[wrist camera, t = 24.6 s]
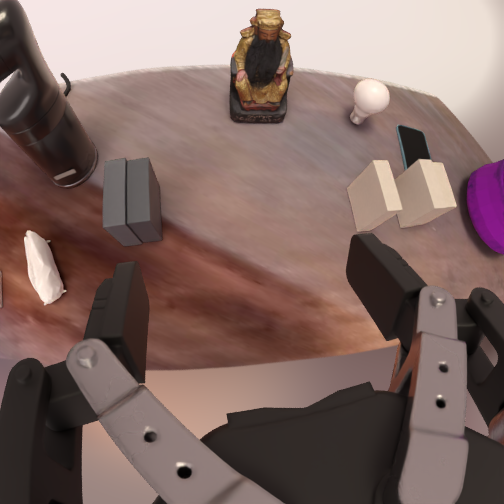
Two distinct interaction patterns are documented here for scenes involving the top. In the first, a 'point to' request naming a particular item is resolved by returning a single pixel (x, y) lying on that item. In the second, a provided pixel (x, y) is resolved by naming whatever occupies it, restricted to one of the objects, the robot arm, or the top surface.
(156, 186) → the grey books
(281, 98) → the statue
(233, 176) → the top surface
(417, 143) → the smartphone
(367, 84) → the lightbulb
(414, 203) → the white books
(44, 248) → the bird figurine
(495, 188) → the decorative plant
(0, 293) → the small box
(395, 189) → the white book
